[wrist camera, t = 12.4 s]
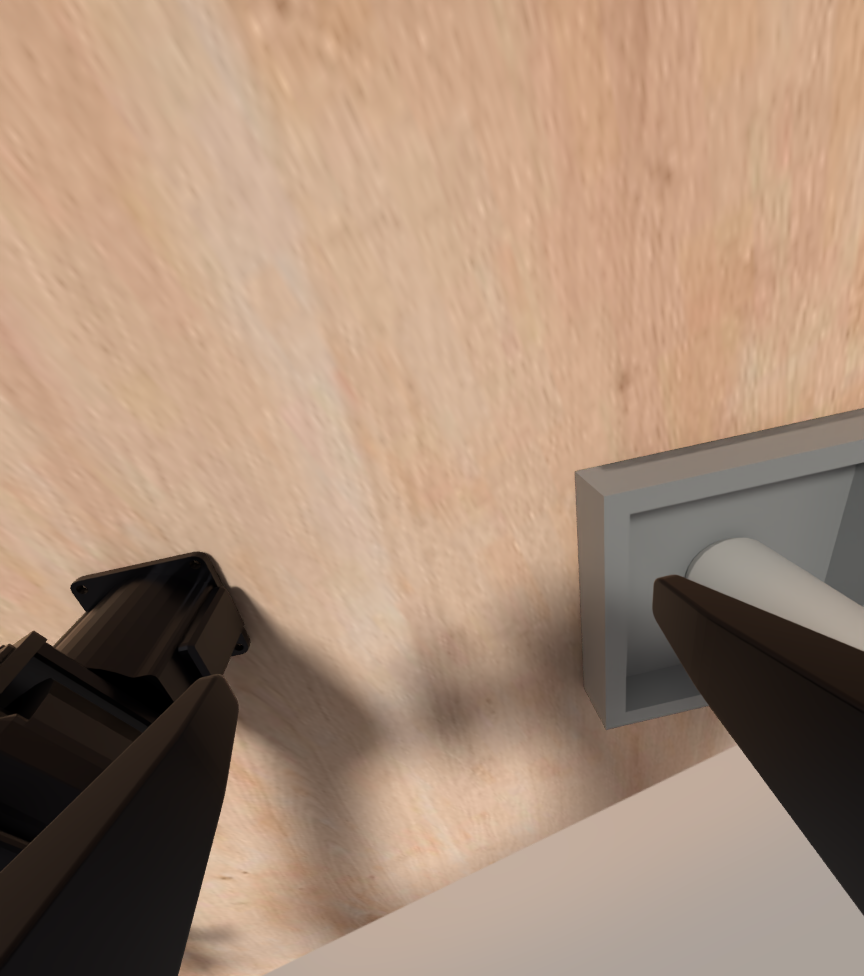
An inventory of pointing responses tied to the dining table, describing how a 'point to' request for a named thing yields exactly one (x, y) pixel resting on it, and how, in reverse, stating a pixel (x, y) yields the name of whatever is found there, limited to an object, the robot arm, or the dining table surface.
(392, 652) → the dining table surface
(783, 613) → the beverage can
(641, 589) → the tray
